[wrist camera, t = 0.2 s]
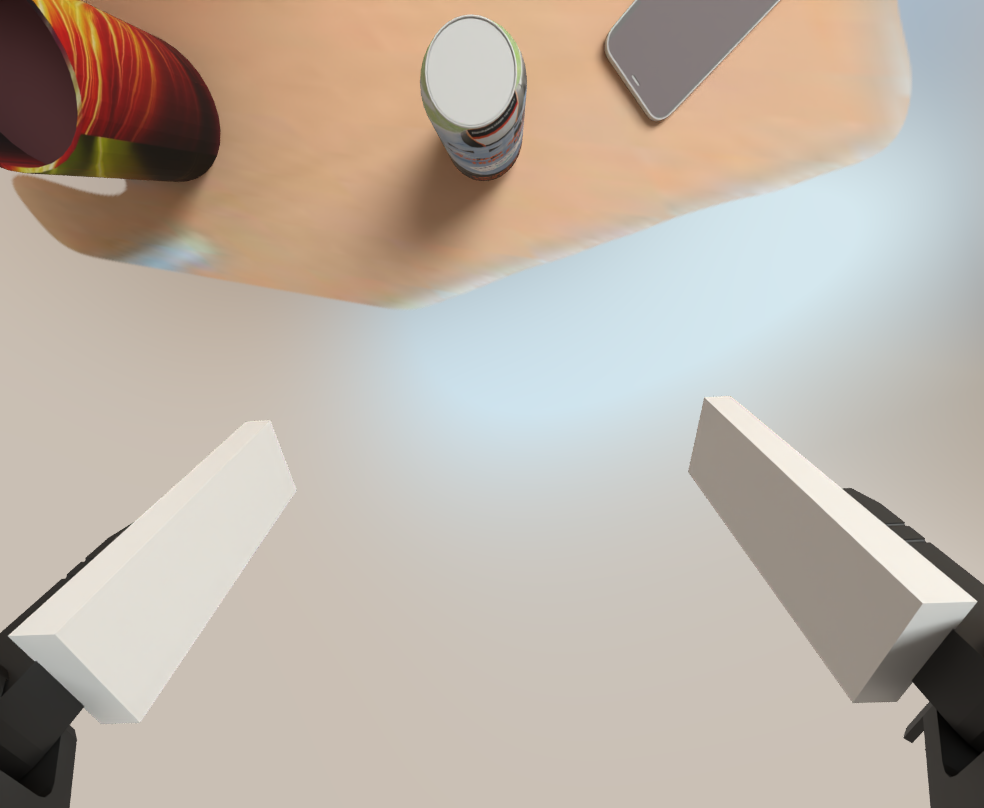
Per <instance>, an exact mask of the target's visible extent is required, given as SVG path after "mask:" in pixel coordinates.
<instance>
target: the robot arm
mask: <svg viewBox="0 0 984 808" xmlns="http://www.w3.org/2000/svg"><path fill="white" fill-rule="evenodd" d="M688 472H689V474H690V475H691V477H692V478H693V479H694V481H695V482H696V483H697V485H698V486H699V488H700V489H701V491H702V492H703V493H704V495H705V496H706V498H707V499H708V500H709V502H710V503H711V505H712V506H713V507H714V509H715V510H716V512H717V513H718V514H719V516H720V517H721V519H722V520H723V521H724V523H725V524H726V525H727V527H728V529H729V530H730V531H731V533H732V534H733V536H734V537H735V538H736V540H737V541H738V543H739V544H740V545H741V547H742V548H743V550H744V551H745V552H746V554H747V555H748V557H749V558H750V559H751V561H752V562H753V564H754V565H755V566H756V568H757V569H758V571H759V572H760V573H761V575H762V576H763V578H764V579H765V580H766V582H767V583H768V585H769V586H770V587H771V589H772V590H773V592H774V593H775V594H776V596H777V597H778V599H779V600H780V601H781V603H782V604H783V606H784V607H785V609H786V610H787V611H788V613H789V614H790V616H791V617H792V618H793V620H794V621H795V623H796V624H797V625H798V627H799V628H800V629H801V631H802V632H803V633H804V635H805V637H806V638H807V639H808V641H809V642H810V644H811V645H812V646H813V648H814V649H815V651H816V652H817V653H818V655H819V656H820V658H821V659H822V660H823V662H824V663H825V665H826V666H827V667H828V669H829V670H830V672H831V673H832V674H833V676H834V677H835V679H836V680H837V681H838V683H839V684H840V686H841V687H842V688H843V690H844V691H845V693H846V694H847V695H848V697H849V698H850V700H851V701H852V702H853V703H865V702H897V701H898V700H899V699H900V697H901V696H902V695H903V694H904V692H905V691H906V690H907V689H908V687H909V686H910V685H911V684H912V682H913V683H914V684H915V685H916V686H917V688H918V689H919V690H920V691H921V692H922V693H923V694H924V695H925V697H926V698H927V699H928V700H929V701H930V702H929V703H928V704H927V705H926V706H925V707H924V708H923V710H922V711H921V712H920V713H919V714H918V715H917V716H916V718H915V719H914V720H913V721H912V722H911V723H910V724H909V725H908V727H907V728H906V731H905V735H904V739H906V740H908V741H910V742H911V743H913V742H914V740H915V739H916V738H917V737H918V736H919V735H920V734H921V733H922V732H923V731H924V735H925V747H926V749H925V750H926V758H927V770H928V782H929V794H930V806H931V808H984V585H983V584H982V583H981V582H980V581H978V580H977V579H976V578H975V577H973V576H972V575H971V574H970V573H968V572H967V571H966V570H964V569H963V568H962V567H960V566H959V565H958V564H957V563H955V562H954V561H953V560H952V559H950V558H949V557H948V556H947V555H945V554H944V553H943V552H942V551H940V550H939V549H938V548H936V547H935V546H934V545H933V544H931V543H926V542H925V538H924V537H922V536H921V535H920V534H919V533H917V532H916V531H915V530H914V529H912V528H911V527H910V526H905V524H904V523H905V522H903V521H902V520H901V519H900V518H898V517H897V516H896V515H894V514H893V513H892V512H891V511H889V510H888V509H887V508H886V507H884V506H883V505H882V504H880V503H879V502H877V501H875V500H873V499H871V498H869V497H867V496H865V495H863V494H861V493H860V492H857V491H856V490H854V489H852V488H844V489H842V488H841V487H839V486H838V485H837V484H836V483H834V482H833V481H832V480H831V479H830V478H828V477H827V476H826V475H825V474H824V473H822V472H821V471H820V470H819V469H817V468H816V467H815V466H814V465H813V464H812V463H810V462H809V461H808V460H807V459H806V458H804V457H803V456H802V455H801V454H800V453H798V452H797V451H796V450H795V449H794V448H792V447H791V446H790V445H789V444H788V443H786V442H785V441H784V440H783V439H782V438H780V437H779V436H778V435H777V434H776V433H774V432H773V431H772V430H771V429H770V428H768V427H767V426H766V425H765V424H764V423H762V422H761V421H760V420H759V419H758V418H756V417H755V416H754V415H753V414H752V413H750V412H749V411H748V410H747V409H746V408H744V407H743V406H742V405H740V403H738V402H737V401H736V400H735V399H734V398H732V397H731V396H723V397H705V398H704V401H703V406H702V411H701V415H700V420H699V424H698V429H697V434H696V438H695V443H694V447H693V452H692V457H691V461H690V466H689V470H688ZM296 491H297V490H296V487H295V484H294V482H293V479H292V476H291V474H290V471H289V468H288V466H287V463H286V461H285V458H284V455H283V452H282V450H281V447H280V445H279V442H278V439H277V437H276V434H275V431H274V429H273V426H272V423H271V421H270V420H266V421H247V422H245V423H244V424H243V425H241V426H240V427H239V428H238V429H237V430H236V431H235V432H234V433H233V434H232V435H231V436H229V437H228V438H227V439H226V440H225V441H224V442H223V443H222V444H221V445H219V446H218V447H217V448H216V449H215V450H214V451H213V452H212V453H210V454H209V455H208V456H207V457H206V458H205V459H204V460H203V461H202V462H201V463H199V464H198V465H197V466H196V467H195V468H194V469H193V470H192V471H191V472H189V473H188V474H187V475H186V476H185V477H184V478H183V479H182V480H180V481H179V482H178V483H177V484H176V485H175V486H174V487H173V488H172V489H171V490H169V491H168V492H167V493H166V494H165V495H164V496H163V497H162V498H161V499H159V500H158V501H157V502H156V503H155V504H154V505H153V506H152V507H150V508H149V509H148V510H147V511H146V512H145V513H144V514H143V515H142V516H141V517H139V518H138V519H137V520H136V521H135V522H133V523H132V524H130V525H128V526H127V527H125V528H124V529H122V530H120V531H119V532H117V533H116V534H114V535H112V536H111V537H109V538H108V539H107V540H105V542H103V543H102V544H101V545H100V546H99V547H98V548H96V549H95V550H94V551H93V552H92V553H91V554H89V555H88V556H87V557H86V560H85V562H80V563H79V564H78V565H77V566H76V567H75V568H74V569H72V570H71V571H70V572H69V573H68V574H67V577H66V579H61V580H60V581H59V582H58V583H57V584H56V585H54V586H53V587H52V588H51V589H50V590H49V591H48V592H46V593H45V594H44V595H43V596H42V597H41V598H40V599H39V600H37V601H36V602H35V603H34V604H33V605H32V606H30V608H28V609H27V610H26V611H25V612H24V613H23V614H21V615H20V616H19V617H18V618H17V619H16V620H15V621H14V622H12V623H11V624H10V625H9V626H8V627H7V628H6V629H4V630H3V631H2V632H1V633H0V808H69V807H70V798H71V787H72V779H73V770H74V760H75V751H76V742H77V738H76V734H75V730H74V729H73V728H72V727H71V726H70V724H71V722H72V721H73V720H74V719H75V717H76V716H77V715H78V714H79V712H80V711H81V710H82V708H85V709H86V710H87V711H88V712H89V713H90V714H91V715H92V716H93V717H94V718H95V719H96V720H97V721H98V722H99V723H100V724H114V723H115V724H116V723H140V722H141V721H142V719H143V718H144V716H145V715H146V713H147V712H148V710H149V709H150V707H151V706H152V704H153V703H154V701H155V700H156V698H157V697H158V695H159V694H160V692H161V691H162V689H163V688H164V687H165V685H166V683H167V682H168V681H169V679H170V677H171V676H172V675H173V673H174V672H175V670H176V669H177V667H178V666H179V664H180V663H181V661H182V659H183V658H184V657H185V655H186V654H187V652H188V651H189V649H190V648H191V646H192V645H193V643H194V642H195V641H196V639H197V638H198V636H199V635H200V633H201V632H202V630H203V629H204V627H205V626H206V624H207V623H208V621H209V620H210V618H211V616H212V615H213V614H214V612H215V611H216V609H217V608H218V606H219V605H220V603H221V602H222V600H223V599H224V597H225V596H226V595H227V593H228V591H229V590H230V589H231V587H232V586H233V584H234V583H235V581H236V580H237V578H238V577H239V575H240V573H241V572H242V571H243V569H244V568H245V566H246V565H247V563H248V562H249V560H250V559H251V557H252V556H253V554H254V553H255V551H256V550H257V549H258V547H259V545H260V544H261V543H262V541H263V540H264V538H265V537H266V535H267V534H268V532H269V531H270V529H271V528H272V526H273V525H274V523H275V522H276V520H277V519H278V517H279V516H280V514H281V513H282V511H283V510H284V508H285V507H286V505H287V504H288V503H289V501H290V500H291V498H292V497H293V495H294V493H295V492H296Z"/></svg>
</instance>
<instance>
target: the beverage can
mask: <svg viewBox="0 0 984 808" xmlns="http://www.w3.org/2000/svg"><path fill="white" fill-rule="evenodd" d="M420 88H421V96H422V101H423V105H424V108H425V110H426V113H427V116H428V117H429V119H430V121H431V123H432V125H433V127H434V128H435V130H436V132H437V134H438V136H439V138H440V139H441V141H442V143H443V145H444V147H445V149H446V150H447V152H448V154H449V156H450V158H451V159H452V161H453V163H454V165H455V166H456V167H457V168H458V169H459V170H460V171H461V172H462V173H463V174H464V175H466V176H468V177H470V178H472V179H475V180H481V181H487V180H492V179H496V178H498V177H500V176H502V175H503V174H505V173H506V172H507V171H508V170H509V169H510V168H511V167H512V166H513V164H514V163H515V161H516V159H517V157H518V155H519V153H520V149H521V145H522V137H523V125H524V114H525V102H526V91H527V76H526V69H525V64H524V60H523V57H522V54H521V52H520V50H519V48H518V46H517V44H516V42H515V41H514V39H513V38H512V37H511V35H510V34H509V33H508V32H507V31H506V30H505V29H504V28H503V27H502V26H500V25H498V24H497V23H495V22H494V21H491V20H490V19H488V18H485V17H482V16H478V15H463V16H460V17H457V18H454V19H453V20H451V21H449V22H448V23H446V24H445V25H444V26H443V27H442V28H441V29H440V30H439V31H438V33H437V34H436V35H435V37H434V38H433V40H432V42H431V43H430V45H429V47H428V49H427V51H426V54H425V56H424V59H423V63H422V68H421V76H420Z"/></svg>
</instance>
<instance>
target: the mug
mask: <svg viewBox="0 0 984 808" xmlns="http://www.w3.org/2000/svg"><path fill="white" fill-rule="evenodd" d="M219 145H220V124H219V116H218V113H217V110H216V106H215V103H214V100H213V98H212V96H211V94H210V91H209V89H208V87H207V85H206V84H205V82H204V81H203V79H202V77H201V76H200V74H199V73H198V72H197V70H196V69H195V68H194V67H193V66H192V64H191V63H190V62H189V61H188V60H187V59H186V58H185V57H184V56H183V55H182V54H181V53H180V52H179V51H177V50H176V49H175V48H174V47H172V46H171V45H169V44H168V43H166V42H165V41H163V40H161V39H159V38H157V37H155V36H153V35H151V34H149V33H147V32H145V31H143V30H141V29H139V28H136V27H134V26H132V25H130V24H128V23H126V22H124V21H122V20H120V19H118V18H116V17H114V16H112V15H109V14H107V13H105V12H103V11H101V10H99V9H97V8H95V7H93V6H91V5H89V4H87V3H85V2H82V1H80V0H0V167H1V168H4V169H7V170H10V171H16V172H22V173H31V174H49V175H67V176H68V175H69V176H86V177H104V178H120V179H138V180H156V181H174V182H178V181H189V180H192V179H196V178H198V177H199V176H201V175H203V174H204V173H205V172H206V171H207V170H208V169H209V168H210V167H211V166H212V164H213V162H214V160H215V158H216V157H217V154H218V150H219Z"/></svg>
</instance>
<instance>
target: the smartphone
mask: <svg viewBox="0 0 984 808" xmlns="http://www.w3.org/2000/svg"><path fill="white" fill-rule="evenodd" d="M779 1H780V0H635V1H634V2H633V3H632V4H631V6H630V7H629V8H628V9H627V10H626V12H625V13H624V14H623V15H622V16H621V18H620V19H619V20H618V21H617V22H616V24H615V25H614V26H613V28H612V29H611V30H610V32H609V33H608V35H607V37H606V40H605V53H606V56H607V58H608V60H609V61H610V63H611V64H612V66H613V67H614V69H615V70H616V72H617V73H618V74H619V76H620V77H621V79H622V80H623V82H624V83H625V85H626V86H627V88H628V89H629V90H630V92H631V93H632V95H633V96H634V98H635V99H636V101H637V102H638V104H639V105H640V106H641V108H642V109H643V111H644V112H645V114H646V115H647V116H648V117H649V118H650V119H651V120H653V121H660V120H662V119H665V118H666V117H668V116H669V115H670V114H671V113H672V112H673V111H674V110H675V109H676V108H677V107H678V106H679V105H680V104H681V103H682V102H683V101H684V100H685V99H686V98H687V97H688V96H689V95H690V94H691V93H692V92H693V91H694V89H695V88H696V87H697V86H698V85H699V84H700V83H701V82H702V81H703V80H704V79H705V78H706V77H707V76H708V75H709V74H710V73H711V72H712V71H713V70H714V69H715V68H716V67H717V66H718V64H719V63H720V62H721V61H722V60H723V59H724V58H725V57H726V56H727V55H728V54H729V53H730V52H731V51H732V50H733V49H734V48H735V47H736V46H737V45H738V44H739V43H740V42H741V41H742V39H743V38H744V37H745V36H746V35H747V34H748V33H749V32H750V31H751V30H752V29H753V28H754V27H755V26H756V25H757V24H758V23H759V22H760V21H761V20H762V19H763V18H764V17H765V16H766V14H767V13H768V12H769V11H770V10H771V9H772V8H773V7H774V6H775V5H776V4H777V3H778V2H779Z"/></svg>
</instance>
